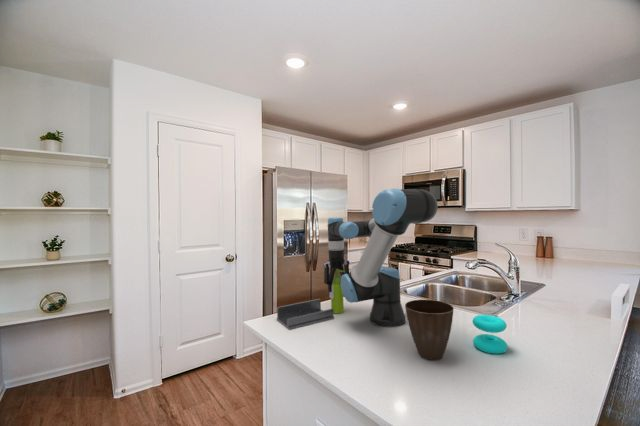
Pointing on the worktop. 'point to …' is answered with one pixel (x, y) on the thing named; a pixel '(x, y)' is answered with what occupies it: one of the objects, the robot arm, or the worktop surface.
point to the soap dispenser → (337, 294)
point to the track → (303, 314)
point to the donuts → (489, 341)
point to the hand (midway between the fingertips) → (337, 297)
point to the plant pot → (430, 326)
